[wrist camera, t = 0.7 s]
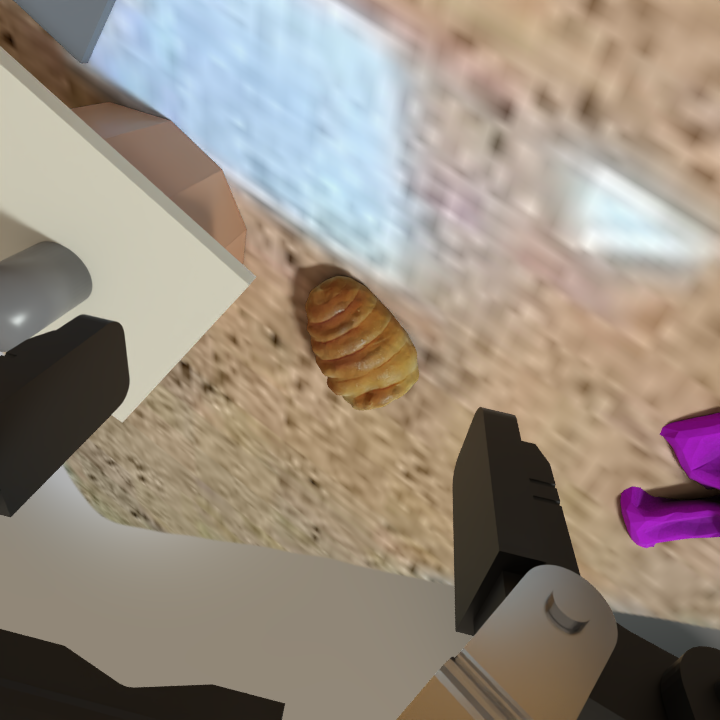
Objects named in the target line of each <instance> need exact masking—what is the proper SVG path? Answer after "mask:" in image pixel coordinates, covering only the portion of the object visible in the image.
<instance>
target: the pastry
mask: <svg viewBox="0 0 720 720" xmlns="http://www.w3.org/2000/svg"><path fill="white" fill-rule="evenodd" d="M305 309H306V313H307V318H308V324H307V331H308V332H309V334H310V336H311V346H312V350H313V352H314V353H315V354H316V363H317V365H318V366H319V368H320V369H321V371H322V373H323V374H324V375H325V376H327V377H328V379H327V385H328V387H329V388H330V389H331V390H332V391H333V392H334V393H335V394H336V395H342V396H343V398H344V399H345V400H346V401H347V402H348V403H350V404H351V405H352V407H353V408H354V409H357V410H371V409H375V408H379V407H384V406H386V405H387V404H389V403H390V402H392V401H393V400H396V399H399V398H400V397H401V396H403V395H404V394H405V393H406V392H407V391H408V390H409V389H410V388H411V387H412V386H413V385H414V384H415V383H416V382H417V380H418V377H419V370H418V363H417V352H416V349H415V347H414V345H413V343H412V341H411V339H410V338H409V336H408V334H407V332H406V331H405V330H404V329H403V328H402V327H401V326H400V324H399V322H398V321H397V320H396V319H395V318H394V316H393V315H392V314H391V313H390V312H389V311H388V310H387V308H386V307H385V306H384V305H383V304H382V303H381V302H380V301H379V300H378V299H377V298H376V296H375V295H374V294H373V293H372V292H371V291H370V290H369V289H368V288H367V287H366V286H364V285H362V284H360V283H358V282H357V281H355V280H354V279H352V278H350V277H345V276H335V277H333V278H329V279H327V280H325V281H324V282H322V283H321V284H320V285H319V286H317V287H315V288H314V289H313V290H312V291H311V292H310V294H309V297H308V299H307V302H306V305H305Z"/></svg>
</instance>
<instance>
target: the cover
mask: <svg viewBox="0 0 720 720" xmlns="http://www.w3.org/2000/svg"><path fill="white" fill-rule="evenodd" d="M255 278H256V276H255V275H254V274H253V273H252V272H250V271H249V270H248V269H247V268H246V267H245V266H244V265H243V264H242V263H240V262H239V261H238V260H237V259H236V258H235V257H234V256H233V255H232V254H230V253H229V252H228V251H227V250H226V249H225V248H224V247H223V246H222V245H220V244H219V243H218V242H217V241H216V240H215V239H214V238H213V237H212V236H210V235H209V234H208V233H207V232H206V231H205V230H204V229H203V228H202V227H200V226H199V225H198V224H197V223H196V222H195V221H194V220H193V219H192V218H191V217H189V216H188V215H187V214H186V213H185V212H184V211H183V210H182V209H181V208H179V207H178V206H177V205H176V204H175V203H174V202H173V201H172V200H171V199H169V198H168V197H167V196H166V195H165V194H164V193H163V192H162V191H161V190H159V189H158V188H157V187H156V186H155V185H154V184H153V183H152V182H151V181H149V180H148V179H147V178H146V177H145V176H144V175H143V174H142V173H141V172H139V171H138V170H137V169H136V168H135V167H134V166H133V165H132V164H131V163H129V162H128V161H127V160H126V159H125V158H124V157H123V156H122V155H121V154H119V153H118V152H117V151H116V150H115V149H114V148H113V147H112V146H111V145H109V144H108V143H107V142H106V141H105V140H104V139H103V138H102V137H101V136H99V135H98V134H97V133H96V132H95V131H94V130H93V129H92V128H91V127H89V126H88V125H87V124H86V123H85V122H84V121H83V120H82V119H81V118H79V117H78V116H77V115H76V114H75V113H74V112H73V111H72V110H71V109H69V108H68V107H67V106H66V105H65V104H64V103H63V102H62V101H61V100H59V99H58V98H57V97H56V96H55V95H54V94H53V93H52V92H51V91H49V90H48V89H47V88H46V87H45V86H44V85H43V84H42V83H41V82H40V81H38V80H37V79H36V78H35V77H34V76H33V75H32V74H31V73H30V72H28V71H27V70H26V69H25V68H24V67H23V66H22V65H21V64H20V63H18V62H17V61H16V60H15V59H14V58H13V57H12V56H11V55H10V54H8V53H7V52H6V51H5V50H4V49H3V48H2V47H1V46H0V352H6V351H9V350H11V349H12V348H14V347H15V346H17V345H19V344H20V343H22V342H23V341H25V340H27V339H29V338H32V337H35V336H38V335H41V334H44V333H47V332H50V331H53V330H57V329H58V328H60V327H62V326H63V325H65V324H66V323H68V322H69V321H71V320H72V319H74V318H75V317H77V316H79V315H82V314H86V315H90V316H95V317H99V318H103V319H108V320H112V321H116V322H119V323H120V324H121V325H122V327H123V329H124V334H125V342H126V351H127V359H128V368H129V376H130V384H129V389H128V393H127V395H126V398H125V399H124V401H123V403H122V404H121V405H120V406H119V407H118V409H117V410H116V411H115V412H114V413H113V414H112V416H114V417H115V418H117V419H118V420H119V421H121V422H123V421H124V420H125V419H126V418H127V417H128V416H129V415H130V414H131V413H132V412H133V411H134V409H135V408H136V407H137V406H138V405H139V404H140V403H141V402H142V401H143V400H144V399H145V398H146V396H147V395H148V394H149V393H150V392H151V391H152V390H153V389H154V388H155V387H156V386H157V385H158V383H159V382H160V381H161V380H162V379H163V378H164V377H165V376H166V375H167V374H168V373H169V372H170V370H171V369H172V368H173V367H174V366H175V365H176V364H177V363H178V362H179V361H180V360H181V359H182V357H183V356H184V355H185V354H186V353H187V352H188V351H189V350H190V349H191V348H192V347H193V346H194V344H195V343H196V342H197V341H198V340H199V339H200V338H201V337H202V336H203V335H204V334H205V333H206V331H207V330H208V329H209V328H210V327H211V326H212V325H213V324H214V323H215V322H216V321H217V319H218V318H219V317H220V316H221V315H222V314H223V313H224V312H225V311H226V310H227V309H228V308H229V306H230V305H231V304H232V303H233V302H234V301H235V300H236V299H237V298H238V297H239V296H240V295H241V293H242V292H243V291H244V290H245V289H246V288H247V287H248V286H249V285H250V284H251V283H252V281H253V280H254V279H255Z"/></svg>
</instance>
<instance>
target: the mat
mask: <svg viewBox="0 0 720 720" xmlns="http://www.w3.org/2000/svg"><path fill="white" fill-rule="evenodd" d="M14 1H15V2H16V3H17V4H18V5H19V6H20V7H21V8H22V9H23V10H24V11H25V12H26V13H27V14H29V15H30V16H31V17H32V18H33V19H34V20H35V21H36V22H37V23H38V24H39V25H40V26H41V27H42V28H43V29H44V30H46V31H47V32H48V33H49V34H50V35H51V36H52V37H53V38H54V39H55V40H56V41H57V42H58V43H59V44H60V45H62V46H63V47H64V48H65V49H66V50H67V51H68V52H69V53H70V54H71V55H72V56H73V57H74V58H75V59H76V60H78V61H79V62H80V63H88V61H89V58H90V56H91V54H92V52H93V50H94V47H95V45H96V43H97V41H98V38H99V36H100V34H101V32H102V29H103V27H104V25H105V23H106V21H107V18H108V16H109V14H110V12H111V9H112V7H113V5H114V3H115V0H14Z"/></svg>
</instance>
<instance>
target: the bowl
mask: <svg viewBox="0 0 720 720" xmlns="http://www.w3.org/2000/svg"><path fill="white" fill-rule="evenodd" d="M71 110H72V111H73V112H74V113H75V114H76V115H77V116H78V117H79V118H81V119H82V120H83V121H84V122H85V123H86V124H87V125H88V126H89V127H91V128H92V129H93V130H94V131H95V132H96V133H97V134H98V135H99V136H101V137H102V138H103V139H104V140H105V141H106V142H107V143H108V144H109V145H111V146H112V147H113V148H114V149H115V150H116V151H117V152H118V153H119V154H121V155H122V156H123V157H124V158H125V159H126V160H127V161H128V162H129V163H131V164H132V165H133V166H134V167H135V168H136V169H137V170H138V171H139V172H141V173H142V174H143V175H144V176H145V177H146V178H147V179H148V180H149V181H151V182H152V183H153V184H154V185H155V186H156V187H157V188H158V189H159V190H161V191H162V192H163V193H164V194H165V195H166V196H167V197H168V198H169V199H171V200H172V201H173V202H174V203H175V204H176V205H177V206H178V207H179V208H181V209H182V210H183V211H184V212H185V213H186V214H187V215H188V216H189V217H191V218H192V219H193V220H194V221H195V222H196V223H197V224H198V225H199V226H200V227H202V228H203V229H204V230H205V231H206V232H207V233H208V234H209V235H210V236H212V237H213V238H214V239H215V240H216V241H217V242H218V243H219V244H220V245H222V246H223V247H224V248H225V249H226V250H227V251H228V252H229V253H230V254H232V255H233V256H234V257H235V258H236V259H237V260H238V261H239V262H240V263H242V264H243V260H244V250H245V240H246V230H247V229H246V227H245V224H244V222H243V219H242V217H241V215H240V212H239V210H238V207H237V205H236V202H235V200H234V198H233V195H232V193H231V190H230V188H229V185H228V183H227V181H226V178H225V176H224V173H223V171H222V169H221V168H220V167H219V166H218V165H217V164H216V163H214V162H213V161H212V160H211V159H210V158H209V157H208V156H207V155H206V154H205V153H204V152H203V151H202V150H201V149H200V148H199V147H198V146H197V145H196V144H195V143H194V142H193V141H192V140H190V139H189V138H188V137H187V136H186V135H185V134H184V133H183V132H182V131H181V130H180V129H179V128H178V127H177V126H176V125H175V124H174V123H173V122H172V121H171V120H167V119H163V118H160V117H157V116H154V115H150V114H147V113H144V112H141V111H137V110H134V109H131V108H128V107H124V106H121V105H118V104H115V103H111V102H106V103H101V104H95V105H89V106H84V107H78V108H72V109H71Z"/></svg>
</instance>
